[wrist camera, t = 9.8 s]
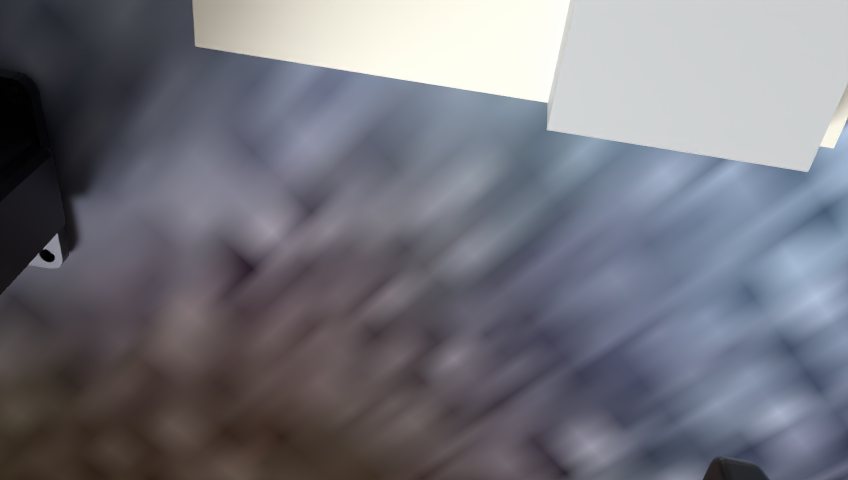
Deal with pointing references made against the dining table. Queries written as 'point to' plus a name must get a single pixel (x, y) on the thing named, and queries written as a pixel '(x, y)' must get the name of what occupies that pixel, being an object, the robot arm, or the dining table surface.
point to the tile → (406, 40)
